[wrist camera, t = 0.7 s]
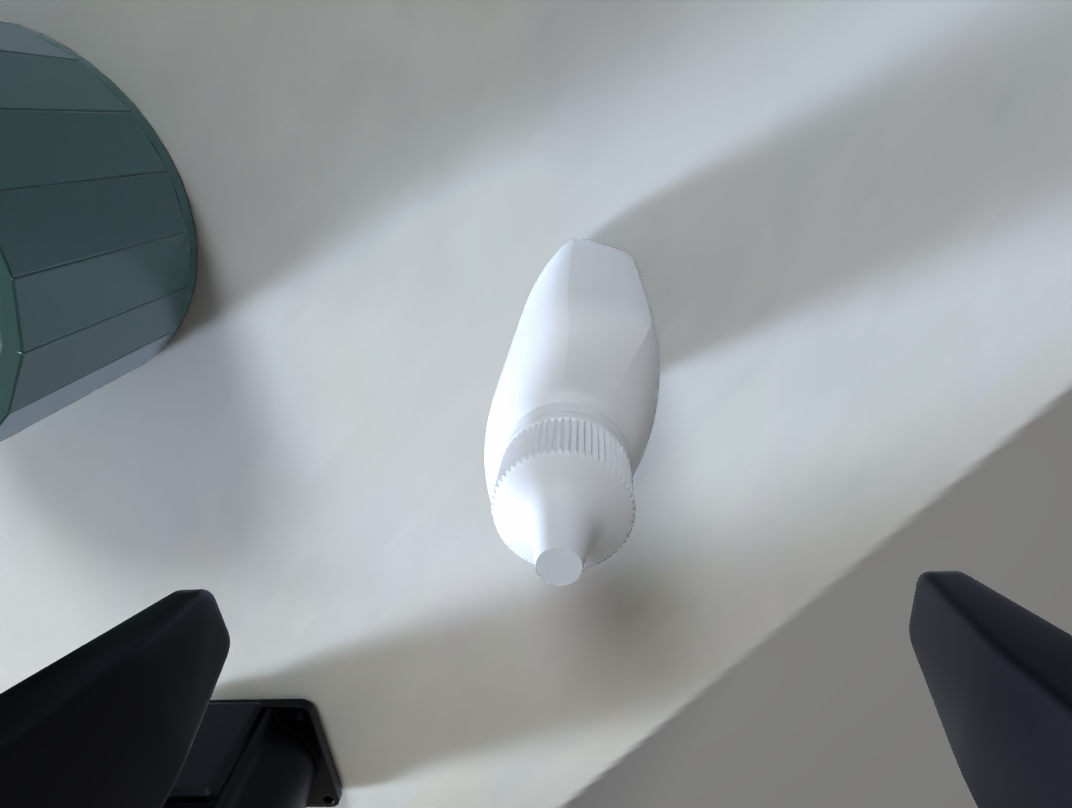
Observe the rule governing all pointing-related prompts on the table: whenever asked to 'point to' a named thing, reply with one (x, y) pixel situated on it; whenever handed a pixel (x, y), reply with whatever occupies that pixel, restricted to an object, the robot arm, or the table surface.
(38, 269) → the canister
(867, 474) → the table surface
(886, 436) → the table surface
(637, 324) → the eye dropper bottle
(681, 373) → the table surface
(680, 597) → the table surface
